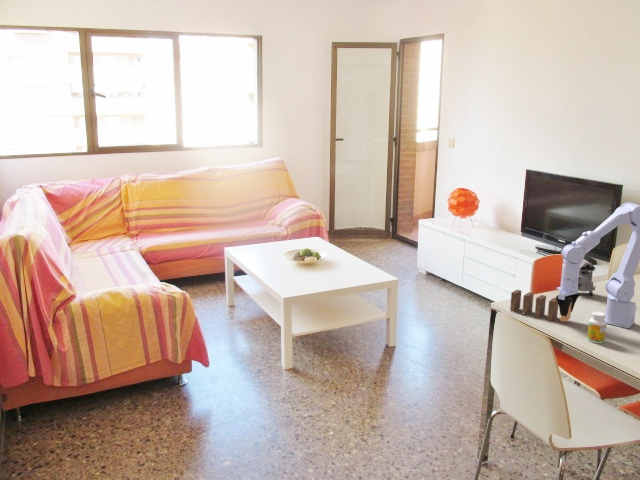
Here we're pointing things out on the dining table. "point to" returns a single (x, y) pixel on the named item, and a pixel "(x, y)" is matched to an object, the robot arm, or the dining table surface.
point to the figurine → (586, 277)
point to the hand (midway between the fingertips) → (566, 313)
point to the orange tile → (565, 318)
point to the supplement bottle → (597, 328)
